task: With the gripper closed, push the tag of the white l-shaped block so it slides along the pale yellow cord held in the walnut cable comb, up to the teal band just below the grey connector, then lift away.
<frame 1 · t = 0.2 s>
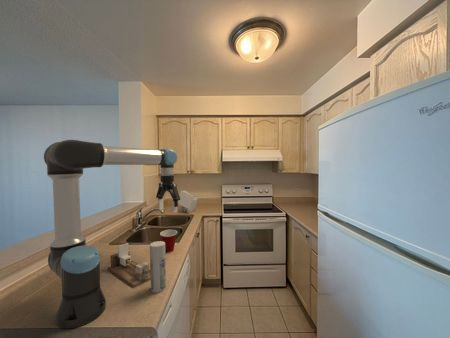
hand: (167, 211, 124), 28 cm above the worktop, tool pointing down, fingers open, 13 cm apart
plastic cup: (169, 251, 134), on the worktop
white l-shaped block: (125, 254, 110), point 8 cm above the worktop, slide at 8.0 cm
spray can: (158, 289, 93), on the worktop
tissue box: (188, 212, 247), on the worktop
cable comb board: (131, 272, 107), on the worktop
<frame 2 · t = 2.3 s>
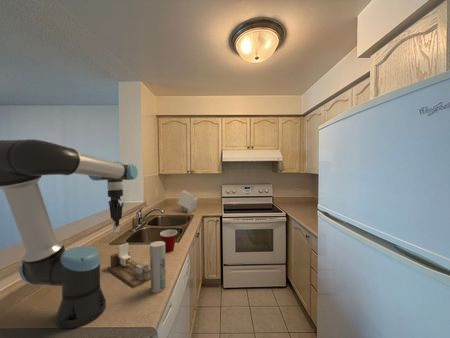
hand: (116, 231, 116), 18 cm above the worktop, tool pointing down, fingers closed
nothing on the worktop moved.
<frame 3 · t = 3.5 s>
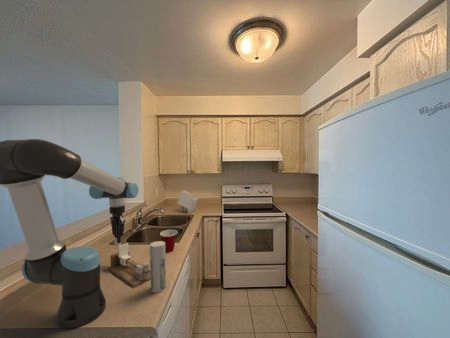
hand: (118, 248, 115), 9 cm above the worktop, tool pointing down, fingers closed
nothing on the worktop moved.
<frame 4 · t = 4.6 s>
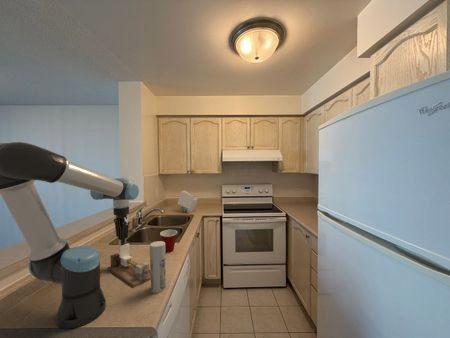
hand: (122, 250, 112), 9 cm above the worktop, tool pointing down, fingers closed
white l-shaped block: (126, 254, 110), point 8 cm above the worktop, slide at 6.9 cm, touching gripper
everything else where it was.
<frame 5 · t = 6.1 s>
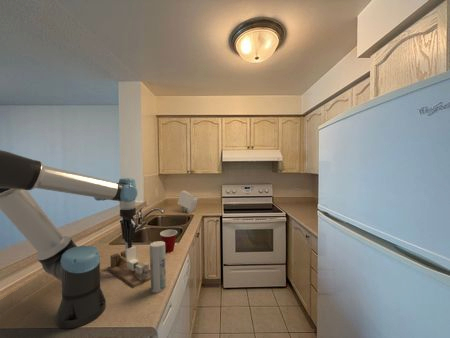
hand: (128, 253, 108), 9 cm above the worktop, tool pointing down, fingers closed
white l-shaped block: (133, 258, 105), point 8 cm above the worktop, slide at 0.0 cm, touching gripper
everything else where it was.
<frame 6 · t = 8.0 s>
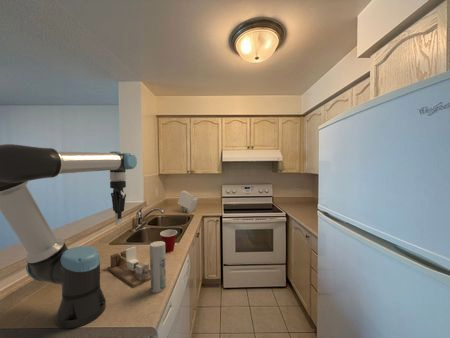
hand: (118, 224, 112), 23 cm above the worktop, tool pointing down, fingers closed
white l-shaped block: (133, 258, 105), point 8 cm above the worktop, slide at -0.1 cm
everything else where it was.
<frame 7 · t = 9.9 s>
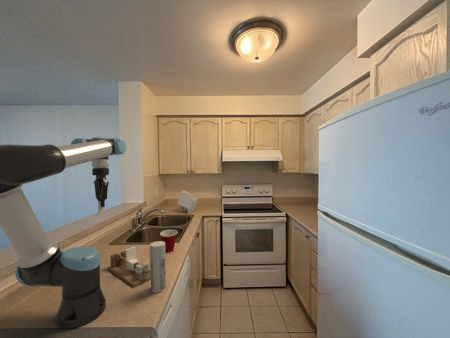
hand: (101, 213, 109), 30 cm above the worktop, tool pointing down, fingers closed
nothing on the worktop moved.
at the end: white l-shaped block slide at -0.1 cm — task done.
